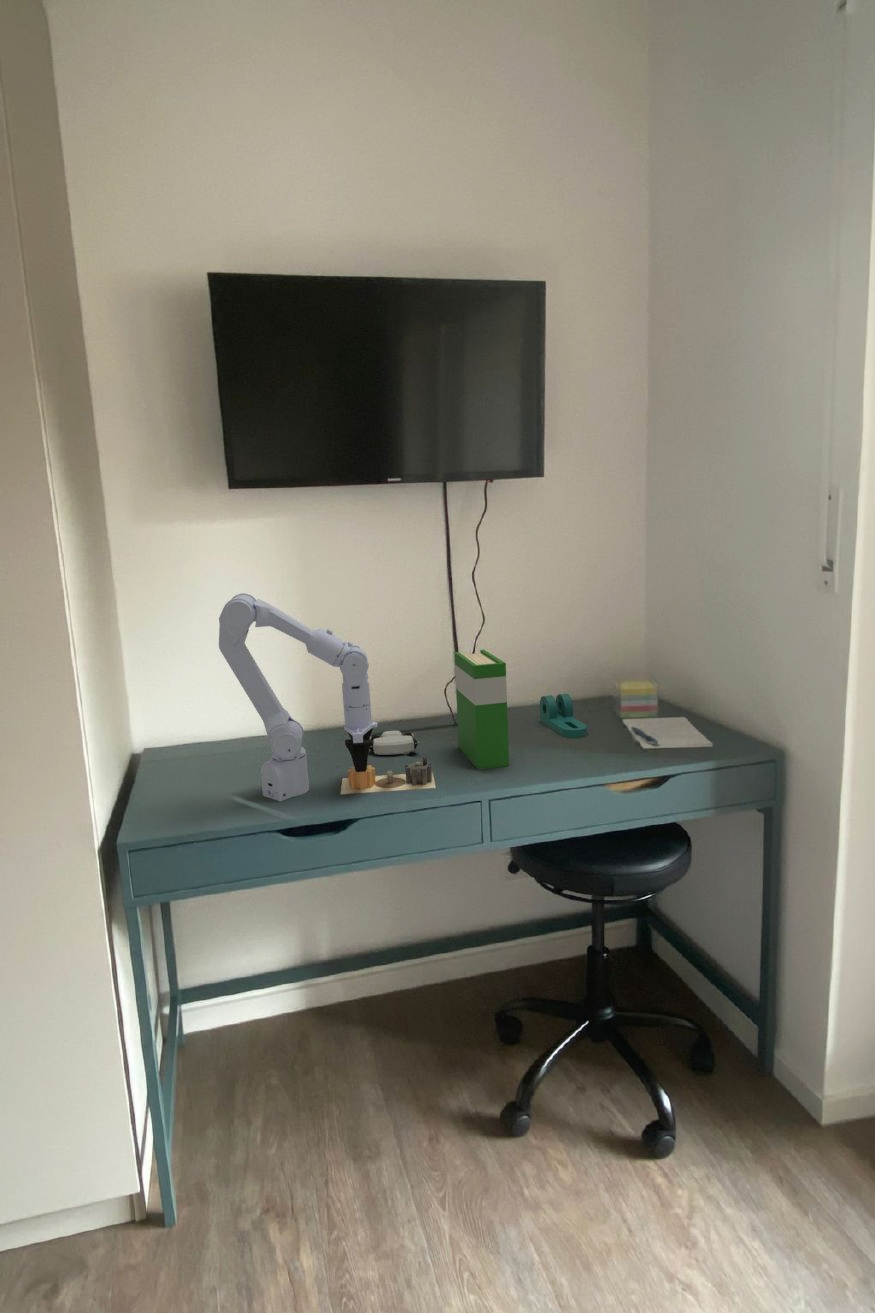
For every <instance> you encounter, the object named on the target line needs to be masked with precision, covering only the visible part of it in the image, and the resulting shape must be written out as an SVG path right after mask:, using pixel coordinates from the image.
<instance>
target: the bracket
mask: <svg viewBox="0 0 875 1313" xmlns="http://www.w3.org/2000/svg"><path fill="white" fill-rule="evenodd" d="M571 697H572V696H570V695H569V693H558V694H557V695H556V697H554V696H553V695H543V696H541V697H540V700H539V721H540V723H543V724H544V725H545V726H547V728H549V729H550V730H552V731H553V732H555V733H557V734H558V735H560V736H561V737H563V738H567V739H579V738H584V737H586V736H587V735H588V725H587V724H585V723H584V722H582V721H580V720H578V719H577V718H575V717H574V705H573V700H572V698H571Z"/></svg>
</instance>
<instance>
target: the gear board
mask: <svg viewBox="0 0 875 1313" xmlns="http://www.w3.org/2000/svg"><path fill="white" fill-rule="evenodd" d="M404 770H405V773H400V774H393V771H392V770H387V771H386V774H385V775H384V774H383V775H375V779H376V784H373V787H371V788H370V787H367V788H364V789H360V788H355V789H353V788H351V786H349V777H343V778H342V780H341V787H340V795H353V794H365V793H366V794H367V793H381V792H394V791H396V792H397V791H412V790H424V789H436V788H437V787H436V783H435V777H434V776H435V775H434V772H433V771H432V763H431V762H428V758H427V756H424V757H422V760H420V761H410V763H406V764H405V765H404Z"/></svg>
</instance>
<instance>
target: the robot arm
mask: <svg viewBox="0 0 875 1313" xmlns="http://www.w3.org/2000/svg"><path fill="white" fill-rule="evenodd" d="M218 621H219V628H218V631H219V632H218V648H219V651H220V652H221V655H222V656H223V658H224V659H225V661H226V662H227V664H228V665H229V668H230V669H231V671H232V672H233V674H234V675H235V677H236V679H237V680H238V682H239V684H240V685H241V688H242V690H244V692H245V694H246V695H247V697H248V698H249V700H250V702H251V704H252V705H253V707H254V708H255V710H256V713H257V714H258V715H259V717H260V718H261V720H262V722H263V726H264V728H265V732H266V734H267V735H268V738H269V739H270V748H271V751H272V752H271V757H270V759H269V760H268V761H266V762H264V763H263V764H262V765H261V768H260V778H261V779H260V780H261V791H262V792H261V793H262V796H263V797H266V798H269V799H272V800H273V801H274V800H275V801H278V802H283V801H285V800H288V799H291V798H293V797H294V798H295V797H298V796H301V795H305V794H306V793H307V792H309V790H310V782H309V773H308V762H307V760H308V759H307V750H306V749H305V748H304V747H303V746H302V745H303V744H302V742H303V739H304V735H305V733H304V728H303V726H302V724H301V723H300V722H299V721H297V720H295V719H294V718H293V717H292V716H291V714H290V713H289V712H288V710H286V709H285V708H284V707H283V705H282V703H281V702H280V700H279V698H278V697H277V695H276V693H275V692H274V690H273V688H272V687H271V685H270V683H269V682H268V680H267V679H266V676H265V675H264V674H263V672H262V670H261V668H260V667H259V665H258V663H257V662H256V660H255V658H254V657H253V655H252V653H251V652H250V650H249V648H248V647H247V645H246V639H247V637H248V633H249V631H250V627H251V626H252V624H253V623H254V622H255V625H254V627H255V628H263V627H271V628H273V629H275V630H277V631H279V632H282V633H283V634H285V635H287V636H289V637H291V638H293V639H295V640H297V641H300V642H301V643H302V644H305V647H306V651H307V652H308V654H311V655H312V656H314V657H316V658H318V659H320V660H321V661H323V662H325V663H326V664H328V665H330V666H333V667H335V668H339V669H340V672H341V674H342V683H341V691H342V693H341V694H342V703H343V716H344V725H343V728H344V730H345V732H346V733H347V734H348V736H349V738H350V739H345V740H344V745H345V747H346V748H347V750H348V752H349V753H350V755H351V759H352V763H353V766H354V767H355V770H356V772H366V769H367V766H368V757H369V752H370V746H371V744H372V739H370V737H371V736H372V735H371V734H372V733H373V729H374V728H378V726H379V725H378V724H379V723H378V721H373V719H372V718H373V717H372V707H371V706H372V705H371V693H370V692H371V691H370V690H371V689H370V682H369V674H368V670H369V666H370V665H369V662H368V657H367V654H366V652H365V651H364V650H363V649H362V648H361V647H360V646H359V645H354V644H353V642H351V641H350V640H348V642H347V641H345V640H343V639H341V638H339V637H338V636H336V635H334V634H333V633H334V632H333V630H331V629H329V628H326V630H325V629H323V628H322V627H321V628H317V629H311V628H310V627H308V626H307V625H305V624H303V623H301V622H300V621H298V620H297V619H295V618H293V617H291V616H290V615H288V614H287V613H285V612H284V611H282V610H280V609H279V608H277V607H276V606H274V605H272V604H271V603H268V602H266V601H264V600H262V599H260V598H257V599H256V597H254V596H253V595H251V594H249V593H238V594H236V595H234V596H232V598H231V599H230V600H228V601H227V602H226V603H225V604H224V606H223V608H222V610H221V613H220V615H219V618H218Z"/></svg>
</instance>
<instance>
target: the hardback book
mask: <svg viewBox="0 0 875 1313" xmlns="http://www.w3.org/2000/svg"><path fill="white" fill-rule="evenodd" d="M454 665H455V666H454V670H455V671H454V674H455V694H456V695H455V696H456V715H457V737H458V748H459V750H461V752H462V753H463V754H464V755H465V756H466V758H467V759H468V760H469V761H470V762H471V764H472V765H473V766H474V768H476V769H477V770H479V771H480V770H485V769H487V770H488V769H493V768H503V767H509V766H510V756H509V755H510V751H509V727H508V726H509V725H508V724H509V723H508V722H509V720H508V719H509V718H508V693H507V690H508V688H507V687H508V686H507V663H506V662H505V661H503V660H501V659H500V658H498V657H497V656H495V655H494V654H493V653H490V652H489V651H487V650H485V649H480V651H479V652H478V653H477V652H476V653H467V654H462V653H461V652H459V651H455V652H454Z"/></svg>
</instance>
